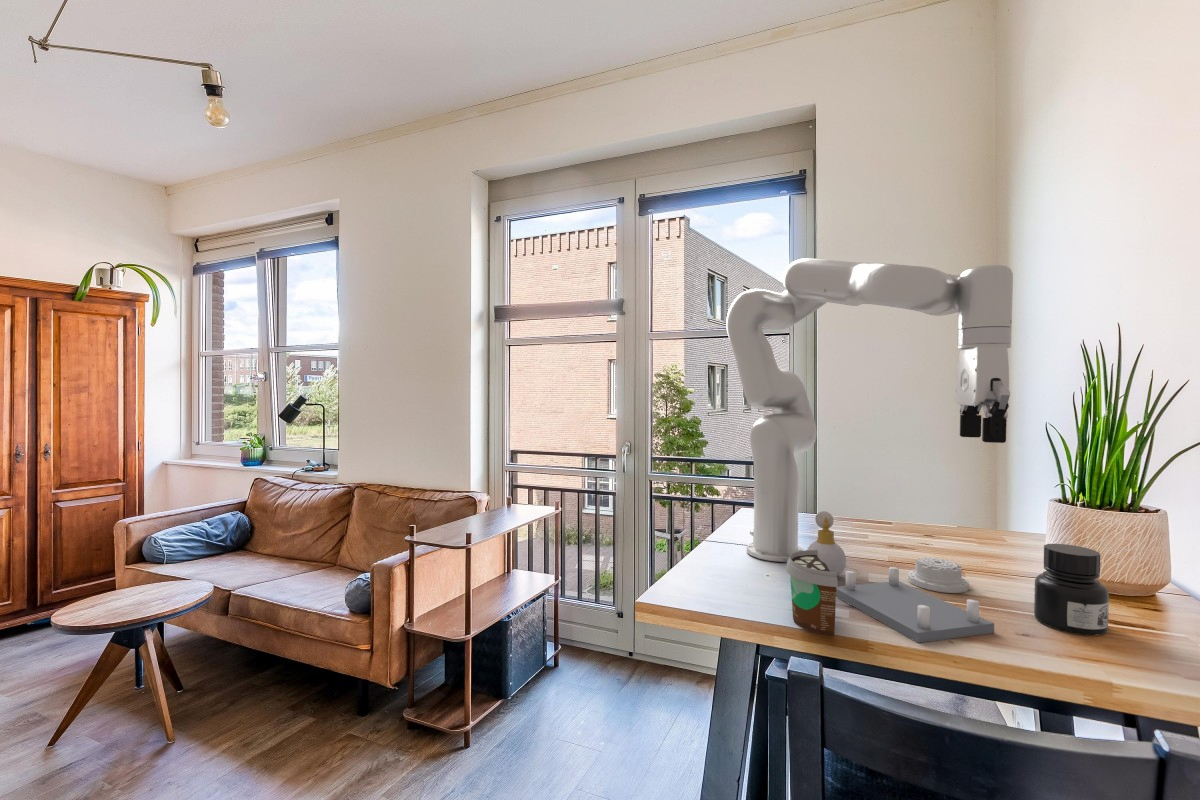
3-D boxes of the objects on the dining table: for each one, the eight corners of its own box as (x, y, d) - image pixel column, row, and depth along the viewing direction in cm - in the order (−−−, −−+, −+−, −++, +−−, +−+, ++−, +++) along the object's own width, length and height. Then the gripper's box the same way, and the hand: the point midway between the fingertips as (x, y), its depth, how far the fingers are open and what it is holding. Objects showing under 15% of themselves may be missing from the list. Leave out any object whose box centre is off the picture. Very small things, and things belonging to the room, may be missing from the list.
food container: (778, 605, 94) (779, 547, 94) (816, 607, 93) (816, 549, 93) (794, 637, 82) (794, 571, 82) (837, 640, 81) (837, 573, 81)
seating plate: (833, 595, 99) (833, 570, 98) (898, 588, 102) (898, 564, 102) (918, 643, 80) (918, 612, 80) (994, 632, 83) (994, 603, 83)
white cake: (919, 592, 101) (979, 596, 99) (919, 568, 101) (979, 572, 99) (900, 574, 110) (955, 578, 108) (900, 553, 110) (955, 556, 108)
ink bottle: (1086, 642, 80) (1088, 561, 80) (1020, 619, 89) (1021, 545, 88) (1121, 630, 84) (1123, 553, 84) (1055, 609, 92) (1056, 539, 92)
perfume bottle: (816, 583, 105) (816, 520, 105) (794, 566, 115) (794, 509, 114) (853, 582, 106) (854, 520, 105) (828, 565, 115) (829, 509, 115)
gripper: (941, 344, 103) (939, 434, 103) (979, 335, 86) (976, 444, 87) (987, 343, 101) (985, 435, 101) (1035, 334, 84) (1032, 445, 85)
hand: (981, 439), depth 94 cm, fingers open, 9 cm apart
